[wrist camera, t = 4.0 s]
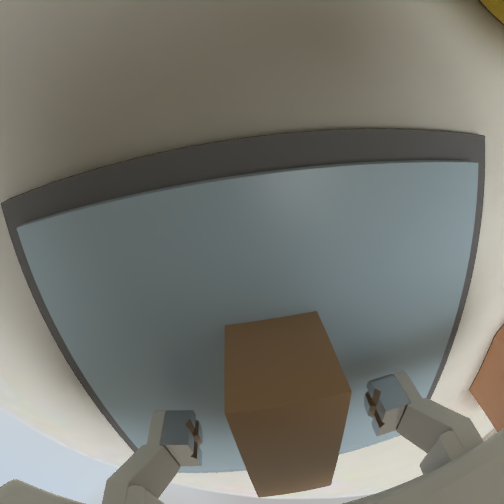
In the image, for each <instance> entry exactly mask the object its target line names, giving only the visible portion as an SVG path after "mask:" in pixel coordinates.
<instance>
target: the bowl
mask: <svg viewBox="0 0 504 504" xmlns="http://www.w3.org/2000/svg"><path fill="white" fill-rule="evenodd" d="M470 392H471V393H472V395H473V396H474V397H475V399H476V400H477V402H478V403H479V405H480V406H481V408H482V409H483V411H484V412H485V414H486V415H487V417H488V418H489V420H490V421H491V423H492V424H493V426H494V427H495V429H496V430H497V432H499V431H500V430H501V429H503V428H504V325H503V326H502V328H501V329H500V330H499V331H498V333H497V334H496V335H495V336H494V339H493V341H492V344H491V346H490V349H489V351H488V353H487V355H486V358H485V360H484V362H483V364H482V366H481V368H480V370H479V372H478V374H477V376H476V378H475V380H474V382H473V384H472V386H471V388H470Z"/></svg>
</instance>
